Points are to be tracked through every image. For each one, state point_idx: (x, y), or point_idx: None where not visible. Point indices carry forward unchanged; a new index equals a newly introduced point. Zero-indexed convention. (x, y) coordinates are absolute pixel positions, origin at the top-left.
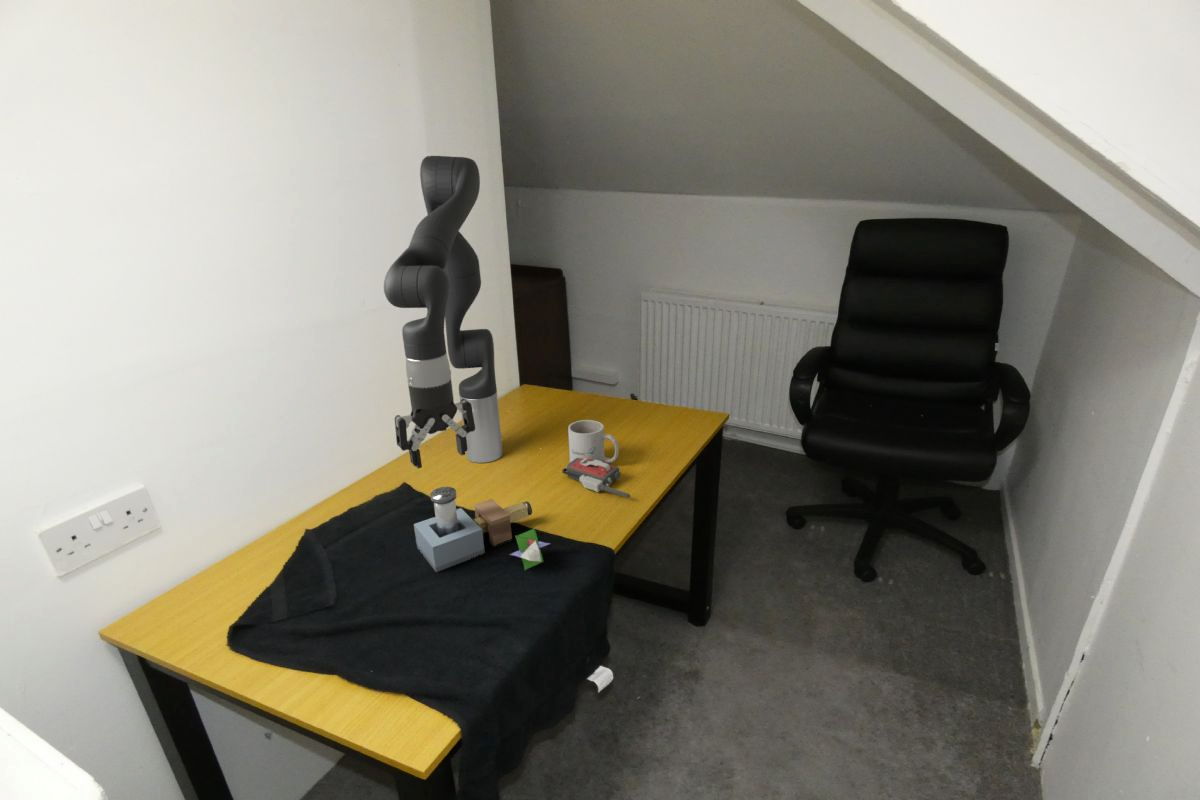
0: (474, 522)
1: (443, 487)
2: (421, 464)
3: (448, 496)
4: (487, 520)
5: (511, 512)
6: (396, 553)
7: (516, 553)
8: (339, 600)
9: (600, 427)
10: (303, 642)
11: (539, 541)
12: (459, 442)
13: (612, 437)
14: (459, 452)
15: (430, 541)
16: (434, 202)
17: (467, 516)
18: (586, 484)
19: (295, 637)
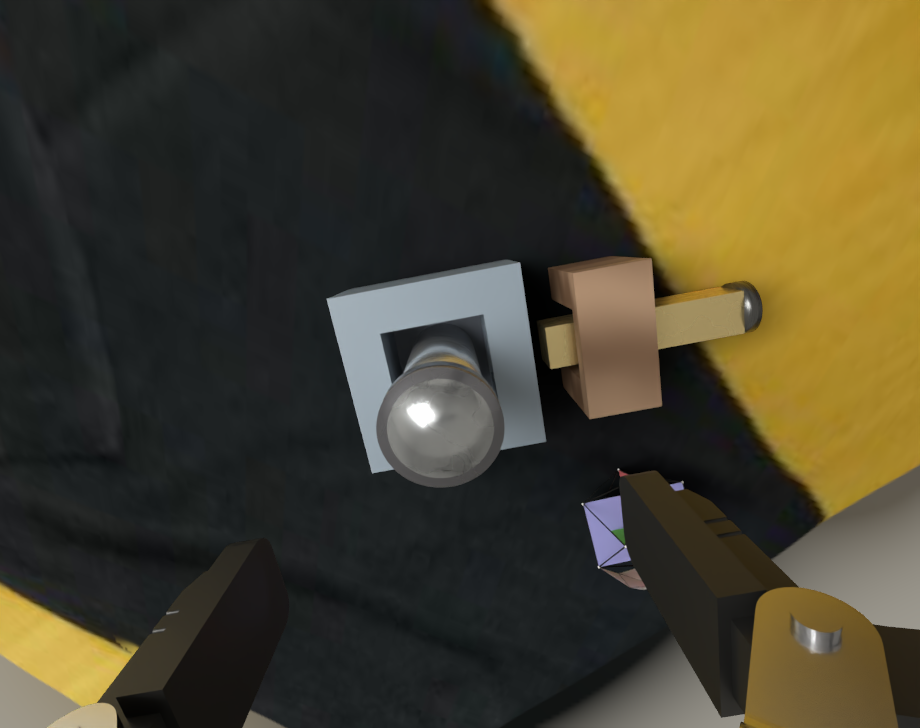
0: (536, 389)
1: (453, 375)
2: (279, 635)
3: (456, 473)
4: (582, 383)
5: (677, 344)
6: (284, 289)
7: (600, 519)
8: (131, 443)
9: None
10: (68, 554)
11: (682, 483)
12: (684, 627)
13: None
14: (627, 516)
15: (370, 437)
16: None
17: (525, 337)
18: None
19: (45, 532)
